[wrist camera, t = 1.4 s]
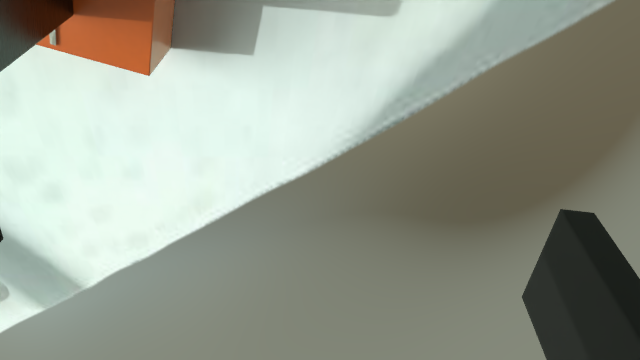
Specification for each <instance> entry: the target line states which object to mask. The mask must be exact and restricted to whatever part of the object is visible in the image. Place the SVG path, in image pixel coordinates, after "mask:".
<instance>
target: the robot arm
mask: <svg viewBox="0 0 640 360" xmlns="http://www.w3.org/2000/svg"><path fill="white" fill-rule="evenodd" d="M2 240H3V236H2V232H1V229H0V242H1V241H2ZM522 298H523V301H524V304H525V306H526V309H527V311H528V314H529V316H530V318H531V321H532V324H533V326H534V329H535V331H536V334H537V336H538V339H539V341H540V344H541V346H542V349H543V351H544V354H545V357H546V359H547V360H640V279H639V277H638V276H637V274H636V273H635V272H634V270H633V269H632V267H631V266H630V264H629V263H628V261H627V260H626V258H625V257H624V256H623V254H622V253H621V251H620V250H619V249H618V247H617V246H616V244H615V243H614V241H613V240H612V238H611V237H610V235H609V234H608V232H607V231H606V230H605V228H604V227H603V225H602V224H601V222H600V221H599V220H598V218H597V217H596V215H595V214H594V213H589V212H581V211H571V210H563V209H561V210H560V212H559V214H558V217H557V219H556V221H555V223H554V225H553V228H552V230H551V232H550V234H549V237H548V239H547V241H546V243H545V246H544V248H543V250H542V252H541V255H540V257H539V260H538V261H537V264H536V266H535V268H534V270H533V273H532V275H531V277H530V280H529V282H528V284H527V286H526V289H525V291H524V293H523V295H522Z"/></svg>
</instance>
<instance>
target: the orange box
mask: <svg viewBox="0 0 640 360" xmlns="http://www.w3.org/2000/svg"><path fill="white" fill-rule="evenodd" d="M174 5H175V0H73V16H72V17H71V18H69V19H68V20H67V21H65V22H64V23H63V24H61V25H60V26H59V27H58V28H56V29H55V30H54V31H52V32H51V33H50V34H49V35H47V36H46V37H45V38H43V39H42V40H41V41H40V42H38V43H37V44H36V45H40V46H43V47H47V48H51V49H54V50H58V51H61V52H65V53H69V54H72V55H76V56H79V57H83V58H87V59H90V60H94V61H97V62H101V63H105V64H108V65H112V66H115V67H119V68H123V69H126V70H130V71H133V72H137V73H141V74H144V75H148V76H150V74H151V73H152V72H153V70H154V69H155V68H156V67H157V65H158V64H159V63H160V61H161V60H162V59H163V57H164V56H165V55H166V53H167V52H168V51H169V50H170V48H171V37H172V27H173V16H174Z"/></svg>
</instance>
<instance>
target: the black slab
mask: <svg viewBox="0 0 640 360" xmlns="http://www.w3.org/2000/svg"><path fill="white" fill-rule="evenodd" d="M72 16H73V0H0V72H1V71H2V70H3V69H5V68H6V67H7V66H9V65H10V64H11V63H12V62H14V61H15V60H16V59H18V58H19V57H20V56H21V55H23V54H24V53H25V52H27V51H28V50H29V49H30V48H32V47H33V46H34V45H36V44H37V43H38V42H40V41H41V40H42V39H43V38H45V37H46V36H47V35H49V34H50V33H51V32H52V31H54V30H55V29H56V28H58V27H59V26H60V25H61V24H63V23H64V22H65V21H67V20H68V19H69V18H71V17H72Z"/></svg>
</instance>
